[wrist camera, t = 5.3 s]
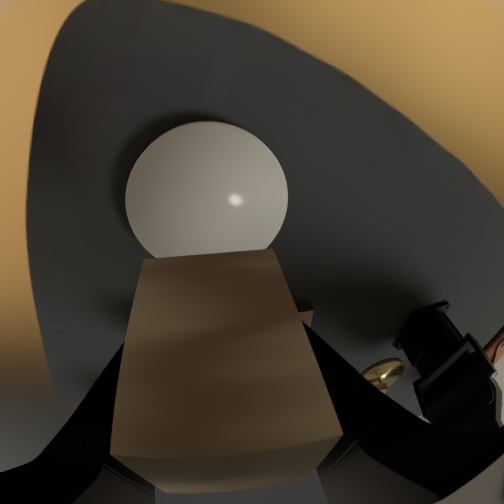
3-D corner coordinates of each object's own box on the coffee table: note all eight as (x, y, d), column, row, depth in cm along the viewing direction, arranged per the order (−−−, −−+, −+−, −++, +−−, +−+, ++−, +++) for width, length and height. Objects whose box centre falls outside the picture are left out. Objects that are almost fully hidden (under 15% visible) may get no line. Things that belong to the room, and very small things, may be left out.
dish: (285, 118, 16) (291, 120, 15) (279, 256, 22) (283, 266, 20) (119, 130, 15) (113, 133, 14) (144, 268, 20) (142, 278, 19)
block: (272, 248, 9) (343, 434, 4) (268, 334, 11) (306, 479, 6) (144, 259, 8) (110, 454, 4) (167, 343, 11) (166, 493, 6)
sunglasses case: (521, 302, 37) (538, 323, 33) (515, 299, 42) (530, 318, 39) (465, 365, 44) (480, 385, 40) (464, 356, 49) (479, 375, 46)
